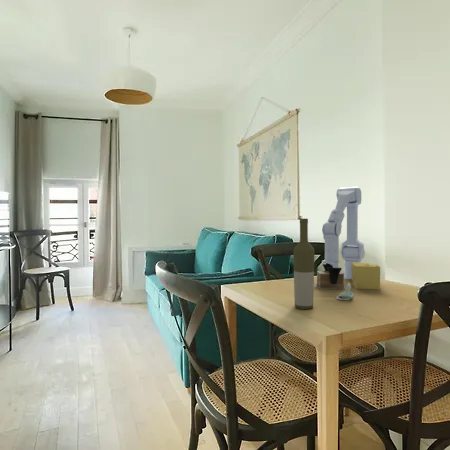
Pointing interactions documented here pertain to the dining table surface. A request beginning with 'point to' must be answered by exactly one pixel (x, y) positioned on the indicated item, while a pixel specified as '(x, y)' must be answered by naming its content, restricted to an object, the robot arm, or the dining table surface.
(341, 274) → the walnut cover
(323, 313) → the dining table surface
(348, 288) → the pacifier
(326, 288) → the mat
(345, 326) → the dining table surface
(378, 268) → the cheese
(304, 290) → the bottle
